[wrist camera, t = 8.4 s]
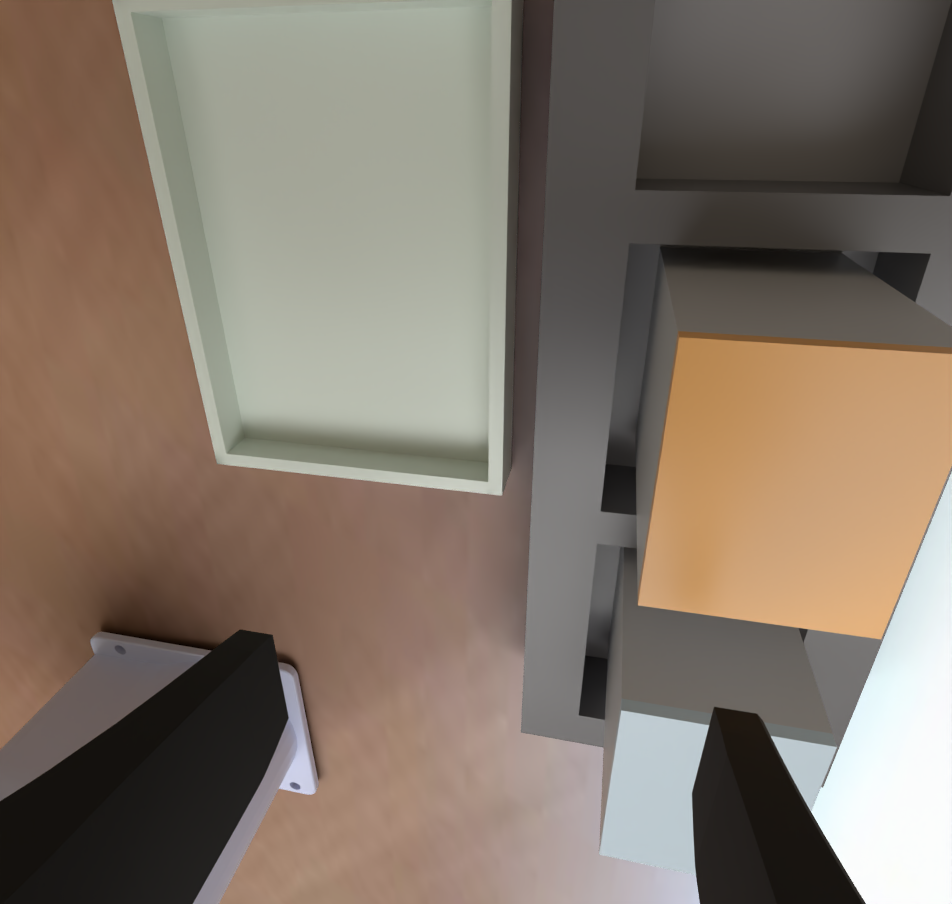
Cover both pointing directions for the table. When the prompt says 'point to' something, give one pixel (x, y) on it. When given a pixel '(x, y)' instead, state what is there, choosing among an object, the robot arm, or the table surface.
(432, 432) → the tray
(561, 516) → the grey slotted rack
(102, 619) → the table surface
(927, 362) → the plug
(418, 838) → the table surface
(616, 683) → the twin plug
